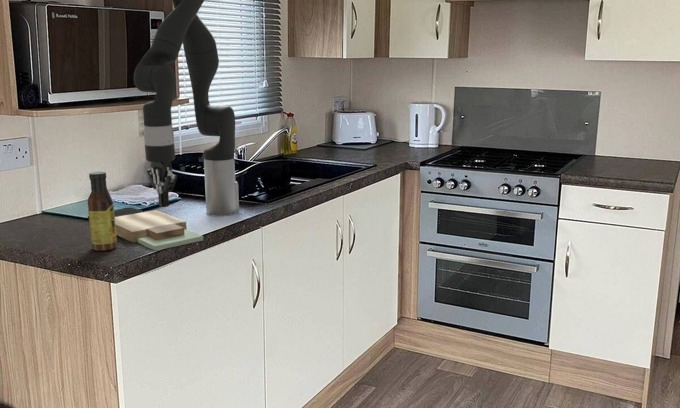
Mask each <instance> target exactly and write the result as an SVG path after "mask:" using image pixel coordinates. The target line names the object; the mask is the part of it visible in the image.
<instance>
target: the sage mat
mask: <svg viewBox="0 0 680 408" xmlns="http://www.w3.org/2000/svg"><path fill="white" fill-rule="evenodd" d="M184 234H185V235H182V236H177V237H172V238H168V239H163V240H158V241H157V240H155V239H153V238H150V237H148V236H145V237H140V238H137V241H138V242H137V243H139V244H141V245H143V246H144V247H146V248H149V249H150V250H153V251H155V250H156V251H160V250H159V249H161V250H164V248H165V249H166V250H167V249H170V248H174V247H180V246H182V245H183V246H184V245H188V244H193V243H196V242H197V243H198V242H202V241H204V236H203V235H202V234H199V233H196V232H194V231H191V230H189V229H187V230H186V229H184Z"/></svg>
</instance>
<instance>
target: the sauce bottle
mask: <svg viewBox="0 0 680 408" xmlns="http://www.w3.org/2000/svg"><path fill="white" fill-rule="evenodd" d="M88 177H89V180H90V190H91V191H90V194H89V196H88V198H87V206H88V207H87V208H88V210H87V212H88V214H87V215H88V216H89V219H88V222H89V232H90V239H91V240H90V241H91V245H92V247H91V248H92V249H93V250H94V251H96V252H105V251H111V250H114V249H115V248H116V247H117V241H118V240H117V239H118V237H117V235H116V227H115V215H114V210H115V208H114V207H115V206H114V201H113V199H112V197H111V195H110V192H109V190H108V187H107V172H105V171H94V172H89V173H88Z"/></svg>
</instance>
